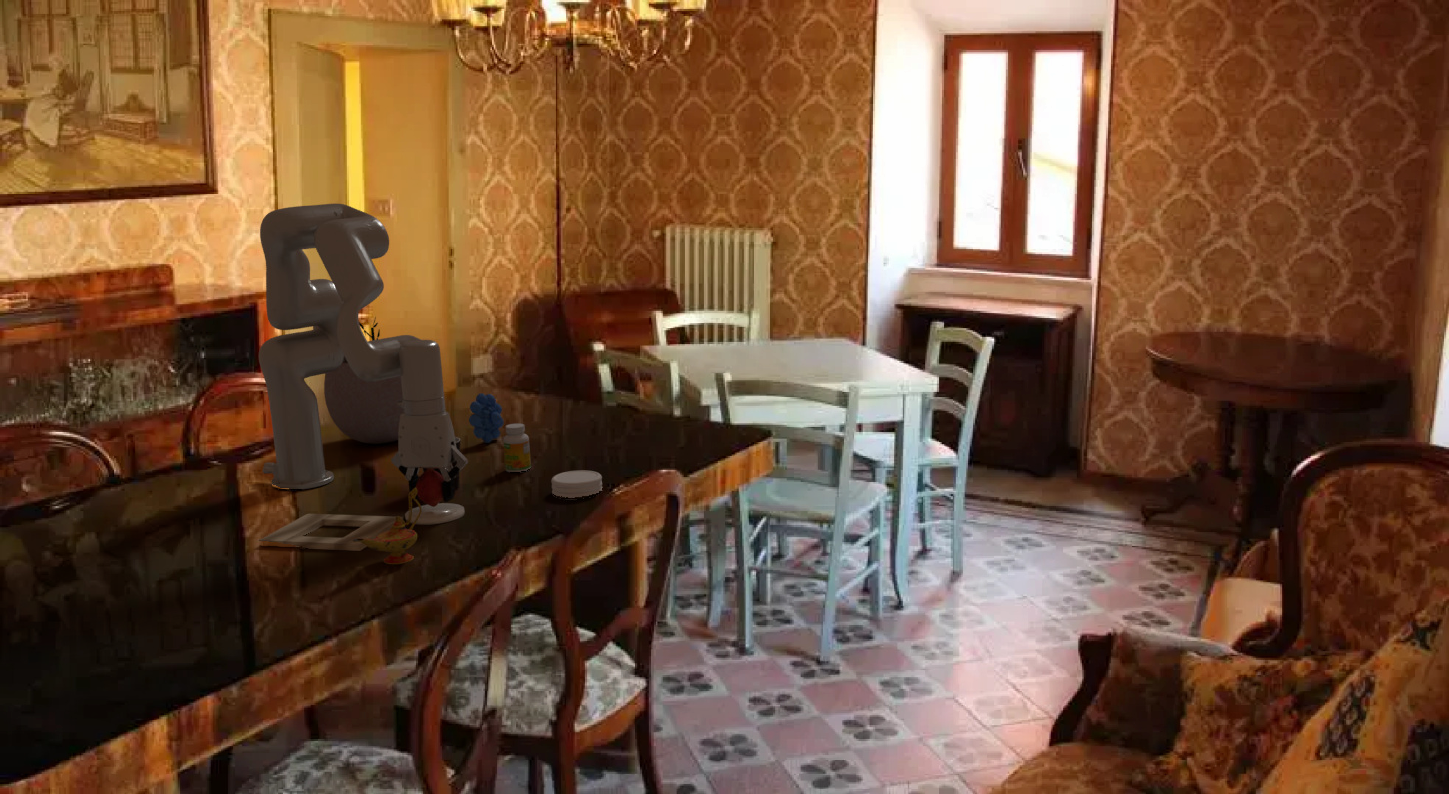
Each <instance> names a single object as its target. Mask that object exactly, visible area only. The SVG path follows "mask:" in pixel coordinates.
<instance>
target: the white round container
mask: <svg viewBox="0 0 1449 794" xmlns="http://www.w3.org/2000/svg"><path fill="white" fill-rule="evenodd" d="M602 479H603V476H602V474H600V473H599V472H597V471H593V470H582V469H581V470H579V469H578V470H569V471H565V472H560V473H557V474H555V475H554V476H552V478H551V481H550V482H551V489H552V491H551V493H552V495H553V494H554V495H556V496H560V497H561V496H562V497H565V498H566V497H568V498H575V497H582V496H589V495H592V494H596V493H599V491H603V490H602V488H603V481H602ZM554 495H553V496H554Z"/></svg>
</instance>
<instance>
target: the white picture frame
mask: <svg viewBox="0 0 1449 794" xmlns="http://www.w3.org/2000/svg"><path fill="white" fill-rule="evenodd" d="M396 517H397V516H389V515H387V516H385V515H360V514H359V515H356V514H331V513H329V514H328V513H327V514H326V513H307V514H304V515H302V516H300V517H299V518H297V519H295V520H293V521H292V522H290V523H288V524H286V525H284V526H282V527H280V528H278V529H277V530H275V531H274V532H270V533H269V534H268V535H266V536H264V537H262V538H260V539H259V540H258V541H269V542H278V543H283V544H291V545H295V546H302V547H305V548H308V549H309V550H334V551H357V552H358V551H359V552H360V551H362V550H364V549H365V548H367V547H368V546H366V545H365V544H363V543H361V542H359V541H358V542H353V540H354V539H371V540H374V539H375V538H376V537H377V536H378V535H379V534H381V533H384V532H386V531H390V530H391V527H392V525H393V524H394V523H395V519H396ZM399 517H400V519H402V520H403V521H404V517H403V516H399ZM403 521H401V522H403ZM323 526H331V527H335V526H336V527H354V528H355V527H357V529H355V530H354V531H351V532H350V533H349V534H346V535H345V536H343V537H331V536H330V537H329V536H328V537H327V536H325V537H324V536H308V535H309V534H311V533H313V532H315V531H317V530H318V529H319V528H321V527H323ZM358 527H359V528H358ZM310 532H311V533H310ZM308 533H309V534H308ZM306 534H307V535H306ZM303 535H306V536H303ZM305 548H304V549H305Z"/></svg>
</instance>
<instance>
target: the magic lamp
mask: <svg viewBox="0 0 1449 794" xmlns="http://www.w3.org/2000/svg"><path fill="white" fill-rule="evenodd" d="M410 493H411V495H410ZM416 495H417V489H416V488H414V489H413V490H412V491H411V492H410V491H409V493H408V511H409V515H411V516H408V517H409V518H410V519H409V518H408V520H407V521H406V522H405V520H404V519H403V520H402V519H400V517H401V516H399V515H398V516H395V517H396V519H395V523H394V524H393V525H392V527H391V530H390V531H386V532H384V533H381V534H379V535H378V536H377V537H376V538H375V539H374V540H371V539H354V540H353V542H358V541H359V542H361V543H363V544H365V545H366V546H367V547H368V548H369V549H371V550H372V549H373V550H374V551H375V550H376V551H379V552H387V553H388V552H389V553H390V554H389V555H388V556H386V557H385V558H384V559H383V563H385V564H387V565H402V564H406V563H409V562H411V561H413V560H414V559H415V557H414V555H412V554H409V553H408V552H406V551H405V550H407V549H410V548H411V547H412V546H414V544H415V543H416V542H417V541H418V533H417V532H416V531H415V530H414V529H413V528H414V526H415V525H416V524H415V523H416V522H417V520H418V518H419V517H420V514H421V511H422V509H421V506H422V505H421V504H420V502H419V501H418V499H417V500H416V499H415V496H416ZM412 498H413V499H414V501H412ZM413 502H415V503H416V504H417V507H419V508H420V512H419V514H418V516H417V518H416V520H415V521H414V523H413V524H412V523H410V522H411V518H412V509H413ZM410 513H411V514H410ZM401 521H403V522H401ZM409 524H411V525H410V527H409V528H407V527H406V526H409Z"/></svg>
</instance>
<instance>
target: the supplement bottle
mask: <svg viewBox="0 0 1449 794" xmlns="http://www.w3.org/2000/svg"><path fill="white" fill-rule="evenodd" d="M525 426H526V425H525V424H523V423H510V424H507V425H505V433H506V435H505V436H504V437H503V439H502V440H503V443H502V444H503V454H504V466H505V471H506V472H507V473H510V472H520V473H522V472H521V471H526V472H528V471H529V470H528V469H530V468H532V461H531V452H530V451H531V450H530V448H531V447H530V437H529V436H528V434H526V433H525V431H526V428H525ZM527 470H528V471H527ZM530 470H531V469H530Z"/></svg>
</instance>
